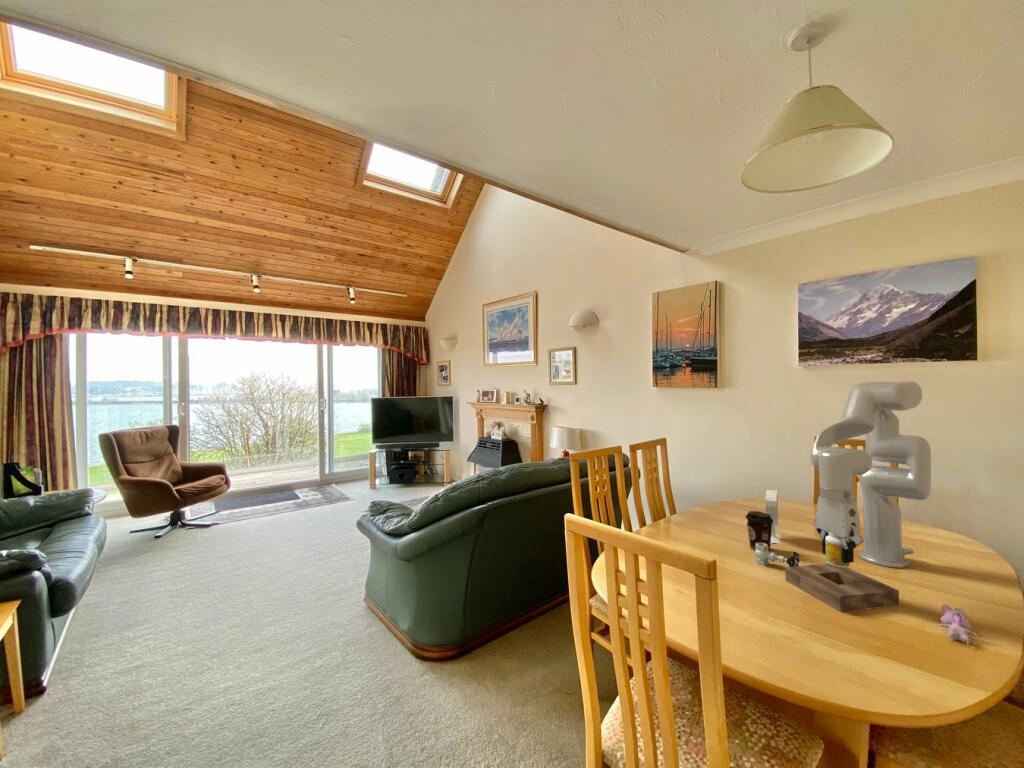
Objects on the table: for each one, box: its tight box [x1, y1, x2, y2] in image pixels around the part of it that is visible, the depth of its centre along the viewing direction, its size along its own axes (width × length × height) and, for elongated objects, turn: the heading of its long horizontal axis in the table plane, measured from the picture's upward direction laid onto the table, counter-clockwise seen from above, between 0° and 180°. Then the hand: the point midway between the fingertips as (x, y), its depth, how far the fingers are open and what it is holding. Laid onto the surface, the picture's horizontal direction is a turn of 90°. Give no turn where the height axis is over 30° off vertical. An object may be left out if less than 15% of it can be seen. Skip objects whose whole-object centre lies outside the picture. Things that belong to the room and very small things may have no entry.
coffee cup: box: [745, 510, 773, 553], centre depth 150 cm, size 9×8×13 cm
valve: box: [754, 542, 801, 567], centre depth 135 cm, size 7×7×12 cm
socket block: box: [784, 563, 900, 613], centre depth 118 cm, size 18×18×4 cm
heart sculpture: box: [765, 489, 781, 544], centre depth 161 cm, size 16×5×18 cm, turn 146°
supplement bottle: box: [825, 532, 851, 568], centre depth 118 cm, size 5×5×10 cm
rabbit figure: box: [938, 604, 979, 649], centre depth 99 cm, size 6×6×15 cm
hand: (837, 557), depth 118 cm, fingers closed on supplement bottle, 5 cm apart
